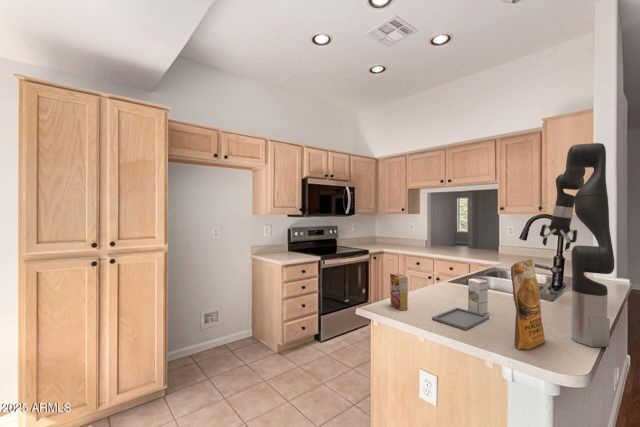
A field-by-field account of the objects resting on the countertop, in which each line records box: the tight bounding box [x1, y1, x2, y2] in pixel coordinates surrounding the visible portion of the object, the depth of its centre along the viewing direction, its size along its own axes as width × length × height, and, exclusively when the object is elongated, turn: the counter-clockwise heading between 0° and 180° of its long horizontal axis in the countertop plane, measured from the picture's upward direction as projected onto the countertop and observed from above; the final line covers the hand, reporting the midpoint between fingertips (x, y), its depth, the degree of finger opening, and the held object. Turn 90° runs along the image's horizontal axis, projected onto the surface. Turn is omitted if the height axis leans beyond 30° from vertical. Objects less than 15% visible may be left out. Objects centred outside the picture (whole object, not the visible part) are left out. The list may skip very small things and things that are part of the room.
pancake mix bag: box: [510, 259, 546, 351], centre depth 103 cm, size 7×19×28 cm, turn 121°
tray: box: [431, 307, 490, 331], centre depth 126 cm, size 20×14×1 cm
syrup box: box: [467, 277, 489, 315], centre depth 135 cm, size 6×6×14 cm
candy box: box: [389, 272, 409, 311], centre depth 141 cm, size 9×4×15 cm, turn 17°
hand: (555, 247), depth 150 cm, fingers open, 8 cm apart
